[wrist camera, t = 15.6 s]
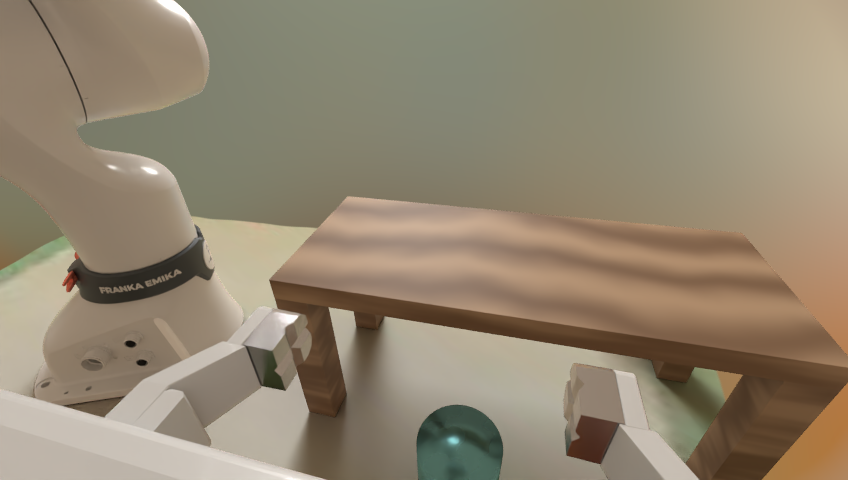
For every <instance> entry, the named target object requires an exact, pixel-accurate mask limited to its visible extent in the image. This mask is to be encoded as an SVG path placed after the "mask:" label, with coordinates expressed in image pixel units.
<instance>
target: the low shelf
mask: <svg viewBox="0 0 848 480" xmlns="http://www.w3.org/2000/svg"><path fill="white" fill-rule="evenodd" d="M269 281H270V284H271V287H272V291H273V294H274V297H275V301H276V304H277V307H278V309H280V310H285V311H290V312H294V313H299V314H303V315H306V318H307V321H308V324H307V325H306V327H305V328H306V329H307V330H308V331H309V332H310V333H311V337H312V345H311V349H310V352H309V355H308V356H307V358H306V360H305V361H304V362H303V363H301V364H300V365H298V366H296V369H297V372H298V376H299V379H300V382H301V386H302V389H303V392H304V395H305V399H306V402H307V405H308V408H309V411H310V412H314V413H319V414H323V415H327V416H331V417H335V416H336V414H337V412H338V410H339V408H340V406H341V404H342V402H343V399H344V397H345V395H346V388H345V384H344V379H343V374H342V369H341V365H340V360H339V355H338V350H337V346H336V341H335V336H334V331H333V327H332V322H331V317H330V312H329V308H328V307H331V308H337V309H343V310H350V311H354V316H355V322H356V326H359V327H365V328H371V329H376V330H377V329H378V327H379V325H380V322H381V320H382V318H383V316H386V317H393V318H399V319H405V320H411V321H417V322H423V323H429V324H435V325H442V326H448V327H454V328H460V329H466V330H472V331H478V332H484V333H491V334H497V335H503V336H509V337H515V338H521V339H527V340H533V341H540V342H546V343H552V344H558V345H564V346H570V347H576V348H583V349H589V350H595V351H601V352H607V353H613V354H619V355H625V356H632V357H638V358H644V359H650V360H651V361H652V364H653V367H654V370H655V373H656V377H657V378H661V379H667V380H673V381H679V382H685V383H686V382H687V380H688V378H689V377H690V375H691V373H692V371H693V369H694V367H699V368H705V369H711V370H718V371H724V372H730V373H736V374H742V375H743V376H742V378H741V379H740V381H739V382H738V384H737V385H736V387H735V388H734V390H733V391H732V393H731V395H730V396H729V398H728V399H727V401H726V402H725V404H724V405H723V407H722V408H721V410H720V411H719V413H718V414H717V416H716V418H715V419H714V421H713V422H712V424H711V425H710V427H709V428H708V430H707V431H706V433H705V435H704V436H703V438H702V439H701V441H700V442H699V444H698V445H697V447H696V448H695V450H694V451H693V453H692V455H691V456H690V458H689V459H688V461H687V462H686V465H687V466H688V468H689V469H690V470H691V471H692V472H693V473H694V474H695V475H696V477H697V478H698V479H699V480H762V478H763V477H764V476H765V475H766V474H767V473H768V472H769V471H770V470H771V468H772V467H773V466H774V465H775V464H776V463H777V462H778V460H779V459H780V458H781V457H782V456H783V455H784V454H785V452H786V451H787V450H788V449H789V448H790V447H791V446H792V445H793V444H794V443H795V441H796V440H797V439H798V438H799V437H800V436H801V435H802V434H803V432H804V431H805V430H806V429H807V428H808V427H809V425H810V424H811V423H812V422H813V421H814V420H815V419H816V418H817V416H818V415H819V414H820V413H821V412H822V411H823V410H824V409H825V408H826V406H827V405H828V404H829V403H830V402H831V401H832V400H833V399H834V397H835V396H836V395H837V394H838V393H839V392H840V391H841V389H842V388H843V387H844V386H845V385H846V384H847V383H848V356H847V354H846V353H845V352H844V351H843V350H842V349H841V347H839V345H838V344H837V343H836V342H835V341H834V339H833V338H832V337H831V336H830V335H829V334H828V332H827V331H826V330H825V329H824V328H823V327H822V325H821V324H820V323H819V322H818V321H817V320H816V318H815V317H814V316H813V315H812V314H811V313H810V312H809V310H808V309H807V308H806V307H805V306H804V304H803V303H802V302H801V301H800V300H799V299H798V298H797V296H796V295H795V294H794V293H793V292H792V291H791V289H790V288H789V287H788V286H787V285H786V284H785V282H784V281H783V280H782V279H781V278H780V277H779V275H778V274H777V273H776V272H775V271H774V270H773V268H772V267H771V266H770V265H769V264H768V263H767V261H766V260H765V259H764V258H763V257H762V256H761V255H760V253H759V252H758V251H757V250H756V249H755V247H754V246H753V245H752V244H751V243H750V242H749V241H748V239H747V238H746V237H745V236H744V235H743V234H742V233H736V232H726V231H715V230H704V229H694V228H682V227H672V226H661V225H651V224H640V223H628V222H618V221H607V220H596V219H585V218H575V217H564V216H554V215H542V214H532V213H520V212H511V211H499V210H489V209H478V208H466V207H456V206H446V205H435V204H424V203H414V202H403V201H392V200H380V199H370V198H360V197H359V198H358V197H349V196H348V197H347V198H346V199H345V200H344V201H343V202H342V203H341V204H340V205H339V206H338V208H336V210H335V211H334V212H333V213H332V214H331V215H330V216H329V217H328V218H327V219H326V220H325V221H324V222H323V223H322V224H321V226H319V228H318V229H317V230H316V231H315V232H314V233H313V234H312V235H311V236H310V237H309V238H308V239H307V240H306V241H305V242H304V243H303V245H302V246H301V247H300V248H299V249H298V250H297V251H296V252H295V253H294V254H293V255H292V256H291V257H290V258H289V259H288V260H287V261H286V263H285V264H284V265H283V266H282V267H281V268H280V269H279V270H278V271H277V272H276V273H275V274H274V275H273V276H272V277H271V278H270V279H269Z"/></svg>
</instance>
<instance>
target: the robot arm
mask: <svg viewBox="0 0 848 480" xmlns="http://www.w3.org/2000/svg"><path fill="white" fill-rule="evenodd" d="M208 73H209V55H208V50H207V47H206V43H205V41H204V38H203V36H202V34H201V32H200V30H199V29H198V27H197V25H196V24H195V22H194V21H193V19H192V18H191V17H190V16H189V15H188V13H187V12H186V11H184V9H182V7H181V6H180V5H179V4H177V3H176V2H175V1H174V0H0V177H2V178H4V179H6V180H8V181H9V182H11V183H12V184H14V185H16V186H17V187H19V188H20V189H22V190H23V191H24V192H26V193H27V194H28V195H29V196H31V197H32V198H33V199H34V200H35V201H36V202H37V203H38V204H40V206H41V207H42V208H43V209H44V210H45V211H46V212H47V213H48V214H49V216H50V217H51V218H52V219H53V221H54V222H55V223H56V224H57V226H58V227H59V228H60V230H61V231H62V232H63V234H64V235H65V237H66V238H67V239H68V241H69V242H70V244H71V245H72V247H73V248H74V250H75V251H76V252H75V258H76V260H75V261H74V262H73V263H72V264H71V266H70V267H69V269H68V270H67V271H68V273H69V274H68V276H67V277H66V278H65V280H64V282H63V284H62V285H63V286H65V285H66V284H67V283H68V284H67V288H66V291H67V292H70V291H71V290H72V288H73V287H74V285H75V284H76V285H77V287H78V288H79V290H78V291H77V292H76V293H75V294H74V296H73V297H72V298H71V299H70V300H69V301H68V302H67V303H66V304H65V305H64V306H63V307H62V309H61V310H60V311H59V312H58V314H57V315H56V316H55V318H54V319H53V321H52V323H51V324H50V326H49V328H48V330H47V332H46V334H45V337H44V341H43V355H44V359H45V361H44V363H43V365H42V367H41V369H40V371H39V373H38V376H37V378H36V382H35V386H34V395H35V398H32V397H28V396H25V395H21V394H18V393H15V392H11V391H7V390H3V389H0V480H326V479H323V478H319V477H315V476H312V475H308V474H305V473H301V472H297V471H294V470H290V469H287V468H283V467H279V466H276V465H272V464H269V463H265V462H261V461H258V460H254V459H251V458H247V457H244V456H240V455H236V454H233V453H229V452H226V451H222V450H218V449H215V448H211V447H210V445H211V440H210V438H209V436H208V434H207V433H206V431H205V429H204V428H205V427H207V426H208V425H210V424H211V423H212V422H214V421H215V420H217V419H218V418H219V417H221V416H222V415H223V414H225V413H226V412H228V411H229V410H230V409H232V408H233V407H235V406H236V405H237V404H239V403H240V402H242V401H243V400H244V399H246V398H247V397H249V396H250V395H251V394H253V393H254V392H256V391H257V390H258V389H260V388H261V386H264V387H269V388H274V389H279V390H284V391H286V390H287V388H288V386H289V385H290V383H291V382H292V380H293V379H294V377H295V375H296V374H297V369H296V366H298V365H300V364H301V363H303V362H304V361H305V360H306V358H307V356H308V355H309V352H310V349H311V345H312V337H311V333H310V332H309V331H308V330H307V329H306V328H305V327H306V325H307V324H308V321H307V318H306V315H303V314H299V313H294V312H290V311H285V310H280V309H275V308H270V307H265V306H261V307H259V308H257V309H256V310H255V311H254V312H253V313H252V314H251V315H250V317H249V318H248V319H247V320H246V321H245V322H244V323H243V310H242V308H241V306H240V305H239V304H238V303H237V302H236V301H235V300H234V299H233V298H232V296H231V295H230V294H229V293H228V291H227V290H226V288H225V287H224V285H223V284H222V282H221V280H220V279H219V277H218V275H217V274H216V272H215V270H214V261H213V258H212V255H211V252H210V249H209V247H208V244H207V242H206V240H204V237H203V235H202V233H201V231H200V229H199V227H198V226H196V225H195V224H194V223H193V221H192V218H191V216H190V213H189V211H188V208H187V206H186V203H185V201H184V198H183V196H182V194H181V191H180V188H179V186H178V184H177V181H176V179H175V177H174V176H173V174H172V173H171V172H170V171H169V170H168V169H167V168H166V167H164V166H163V165H162V164H160V163H158V162H157V161H154V160H152V159H149V158H146V157H142V156H138V155H133V154H128V153H121V152H114V151H107V150H101V149H96V148H93V147H90V146H88V145H86V144H84V143H83V141H82V140H81V139H80V137H79V135H78V134H77V128H78V127H79V126H81V125H84V124H86V123H89V122H94V121H99V120H105V119H110V118H116V117H121V116H126V115H132V114H138V113H143V112H148V111H154V110H159V109H162V108H165V107H167V106H170V105H172V104H175V103H177V102H180V101H182V100H184V99H187V98H189V97H192V96H194V95H196V94H198V93H200V92H201V91H202V90H203V88H204V86H205V84H206V81H207V78H208ZM242 323H243V324H242ZM570 377H571V380H570V381H568V382H567V384H566V388H565V393H564V417H565V418H566V420H567V421H568V423H567V427H566V430H565V440H566V455H567V456H570V457H574V458H578V459H582V460H586V461H590V462H593V463H597V464H601V465H600V466H601V468H602V470H603V471H604V473H605V475H606V476H607V478H608V480H699V479H698V478H697V477H696V475H695V474H694V473H693V472H692V471H691V470H690V469H689V468H688V466H687V465H686V464H685V463H684V462H683V461H682V460H681V459H680V458H679V456H678V455H677V454H676V453H675V452H674V451H673V450H672V449H671V447H670V446H669V445H668V444H667V443H666V442H665V441H664V440H663V439H662V437H661V436H660V435H659V434H658V433H657V432H655V431H651V430H650V428H649V424H648V421H647V417H646V413H645V409H644V405H643V402H642V398H641V394H640V390H639V386H638V383H637V379H636V376H635V375H634V374H633V373H629V372H623V371H618V370H612V369H607V368H601V367H596V366H590V365H584V364H578V363H573V365H572V367H571V370H570ZM122 396H125V397H124V398H123V399H122V400H121V401H120V402H119V403H118V404H117V405H116V406H115V407H114V408H113V409H112V410H111V411H110V412H109V413H108V414H107V415H106V416H105V417H100V416H96V415H93V414H89V413H86V412H82V411H78V410H75V409H71V408H68V407H64V406H62V405H69V404H75V403H82V402H88V401H95V400H102V399H108V398H115V397H122Z"/></svg>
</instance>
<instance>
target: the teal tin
mask: <svg viewBox="0 0 848 480" xmlns="http://www.w3.org/2000/svg"><path fill="white" fill-rule="evenodd" d="M502 457H503V444H502V439H501V436H500V434H499V431H498V429H497V428H496V426H495V425H494V423H493V422H492V421H491V420H490V419H489V418H488V417H487V416H486V415H485V414H483V413H482V412H480V411H478V410H477V409H474V408H472V407H468V406H463V405H450V406H445V407H442V408H440V409H438V410H436V411H434V412H433V413H432V414H430V415H429V416H428V417H427V418H426V419H425V421H424V422H423V423H422V425H421V427H420V429H419V432H418V436H417V464H418V480H499V475H500V469H501V463H502Z"/></svg>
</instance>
